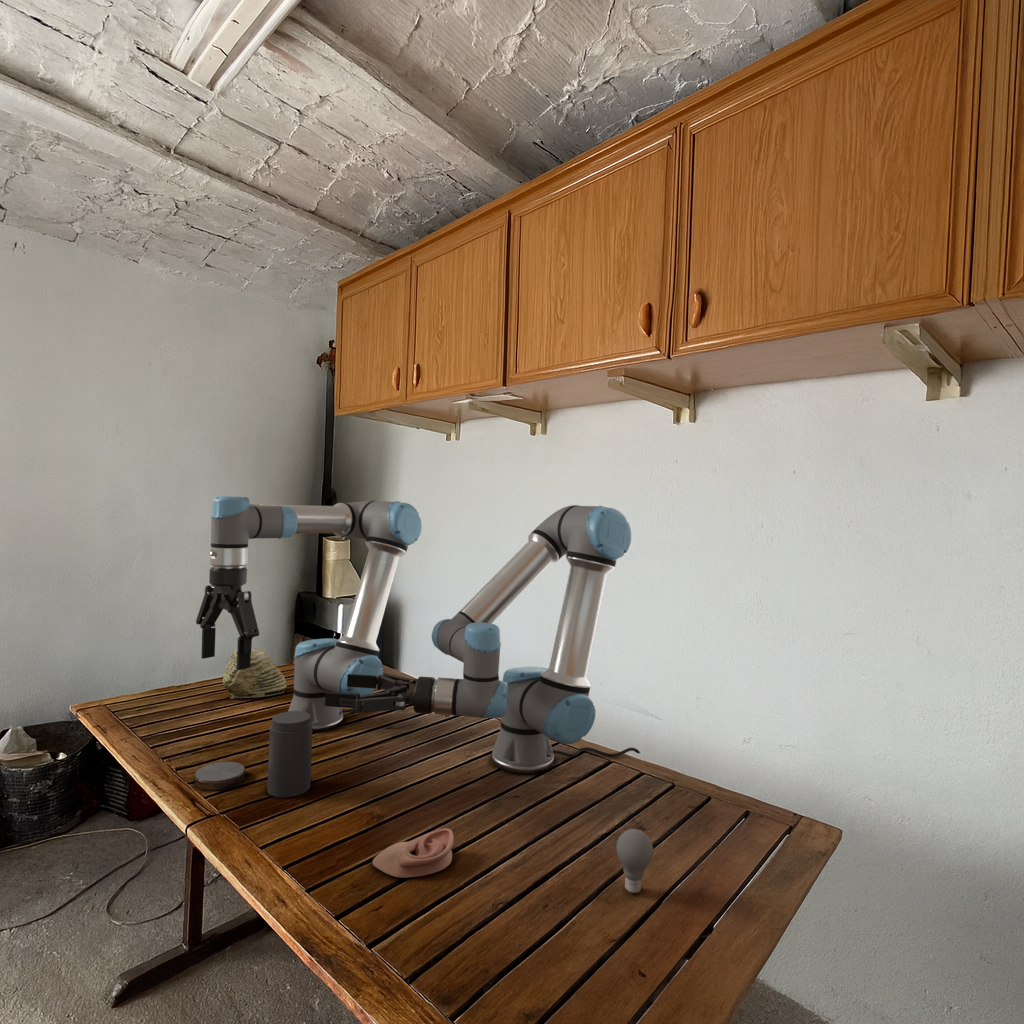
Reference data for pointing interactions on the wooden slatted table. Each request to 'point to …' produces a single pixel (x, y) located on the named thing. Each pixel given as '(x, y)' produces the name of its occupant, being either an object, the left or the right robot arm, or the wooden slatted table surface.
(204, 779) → the lid
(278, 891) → the wooden slatted table surface
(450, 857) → the anatomical model
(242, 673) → the fossil
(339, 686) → the left robot arm
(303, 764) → the jar
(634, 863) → the light bulb
